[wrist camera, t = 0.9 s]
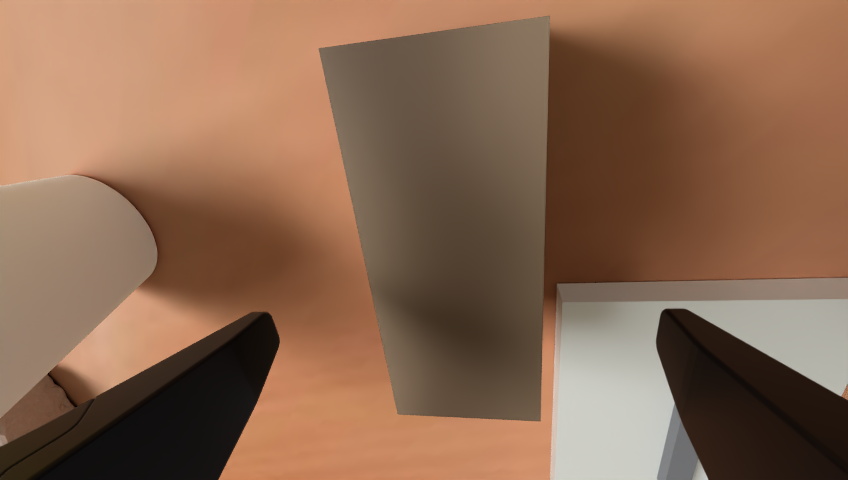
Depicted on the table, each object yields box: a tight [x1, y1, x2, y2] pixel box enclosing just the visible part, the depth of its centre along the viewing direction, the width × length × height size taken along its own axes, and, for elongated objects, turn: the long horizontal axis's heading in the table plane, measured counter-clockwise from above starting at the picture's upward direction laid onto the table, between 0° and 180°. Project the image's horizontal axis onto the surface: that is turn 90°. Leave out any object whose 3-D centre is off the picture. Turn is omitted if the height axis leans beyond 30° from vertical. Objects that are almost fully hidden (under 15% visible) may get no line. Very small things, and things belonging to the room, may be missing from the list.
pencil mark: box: [657, 403, 698, 480], centre depth 19 cm, size 1×8×1 cm, turn 7°
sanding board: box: [550, 278, 848, 480], centre depth 20 cm, size 12×16×2 cm
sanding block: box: [319, 16, 550, 421], centre depth 14 cm, size 5×12×7 cm, turn 7°
